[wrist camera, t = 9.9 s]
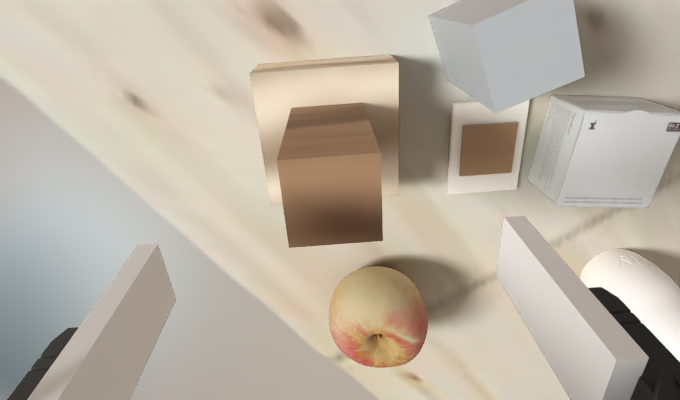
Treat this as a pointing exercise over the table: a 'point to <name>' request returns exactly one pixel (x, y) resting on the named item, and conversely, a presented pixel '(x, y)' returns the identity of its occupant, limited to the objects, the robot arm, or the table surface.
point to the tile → (485, 147)
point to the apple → (378, 317)
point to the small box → (603, 150)
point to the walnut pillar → (330, 176)
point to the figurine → (639, 292)
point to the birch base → (329, 89)
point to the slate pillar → (508, 48)
